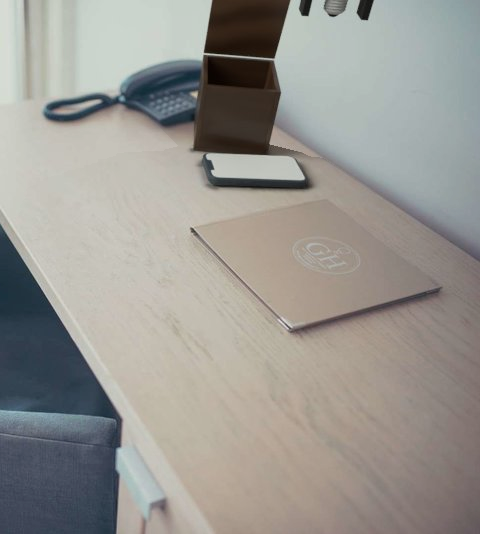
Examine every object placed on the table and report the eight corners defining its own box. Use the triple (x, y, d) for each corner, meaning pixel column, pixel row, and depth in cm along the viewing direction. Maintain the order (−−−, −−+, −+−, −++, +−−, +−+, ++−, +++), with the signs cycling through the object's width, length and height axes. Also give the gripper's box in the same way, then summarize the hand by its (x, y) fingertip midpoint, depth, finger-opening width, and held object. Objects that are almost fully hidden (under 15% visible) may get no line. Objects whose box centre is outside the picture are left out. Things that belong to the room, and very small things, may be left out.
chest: (266, 157, 111) (281, 92, 104) (193, 150, 112) (202, 85, 105) (260, 120, 123) (274, 60, 115) (194, 114, 124) (203, 54, 117)
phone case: (292, 163, 110) (200, 160, 110) (294, 155, 109) (201, 151, 109) (307, 190, 103) (209, 187, 103) (310, 182, 102) (210, 178, 102)
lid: (296, -23, 102) (294, -54, 107) (216, -28, 103) (218, -58, 109) (274, 59, 115) (273, 27, 120) (203, 53, 116) (205, 22, 121)
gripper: (301, -246, 58) (251, 18, 72) (522, -239, 56) (426, 31, 70) (291, -245, 64) (247, -1, 78) (491, -238, 62) (409, 10, 76)
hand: (332, 14), depth 74 cm, fingers closed on light bulb, 6 cm apart
